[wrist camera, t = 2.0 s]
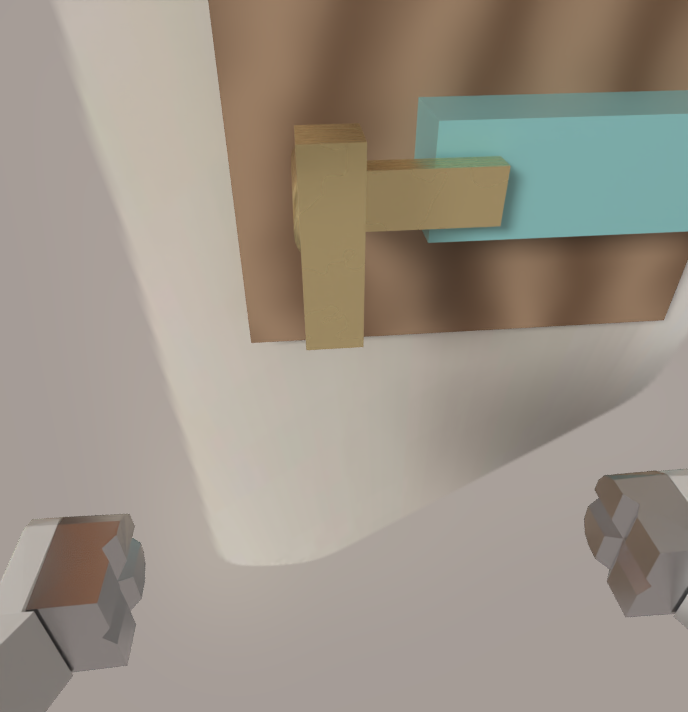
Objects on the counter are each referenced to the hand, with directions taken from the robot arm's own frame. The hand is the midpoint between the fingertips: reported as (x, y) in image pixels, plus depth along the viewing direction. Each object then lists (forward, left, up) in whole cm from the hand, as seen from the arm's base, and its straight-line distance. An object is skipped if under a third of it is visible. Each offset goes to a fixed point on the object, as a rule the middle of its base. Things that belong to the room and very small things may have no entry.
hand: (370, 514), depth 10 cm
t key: (-3, 0, -20) cm, 20 cm away
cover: (-11, 0, -20) cm, 23 cm away
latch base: (-8, 0, -22) cm, 23 cm away
